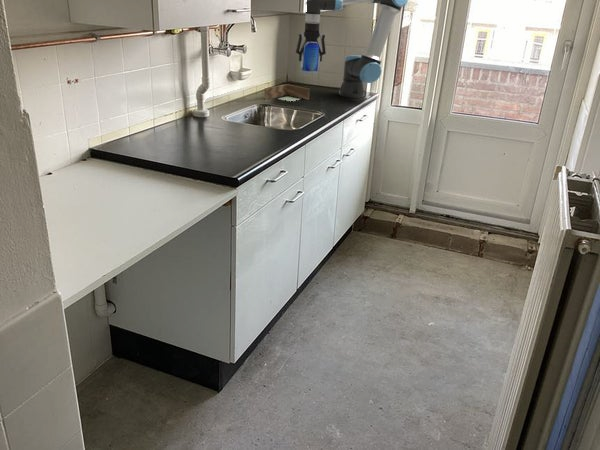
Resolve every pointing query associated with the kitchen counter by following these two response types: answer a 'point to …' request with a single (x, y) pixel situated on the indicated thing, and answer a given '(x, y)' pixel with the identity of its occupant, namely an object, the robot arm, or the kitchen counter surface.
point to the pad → (289, 98)
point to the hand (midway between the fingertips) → (309, 67)
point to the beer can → (310, 57)
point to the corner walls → (286, 91)
